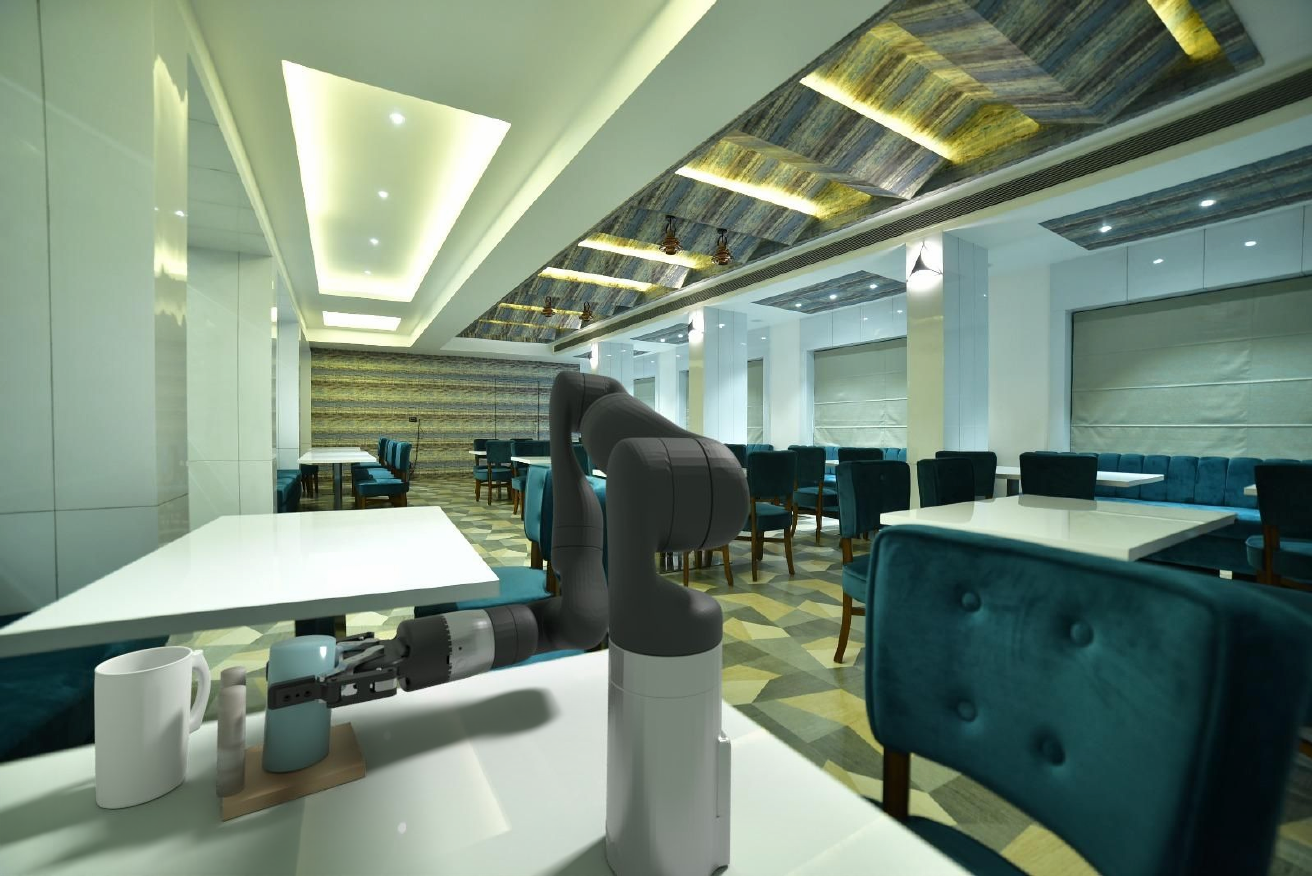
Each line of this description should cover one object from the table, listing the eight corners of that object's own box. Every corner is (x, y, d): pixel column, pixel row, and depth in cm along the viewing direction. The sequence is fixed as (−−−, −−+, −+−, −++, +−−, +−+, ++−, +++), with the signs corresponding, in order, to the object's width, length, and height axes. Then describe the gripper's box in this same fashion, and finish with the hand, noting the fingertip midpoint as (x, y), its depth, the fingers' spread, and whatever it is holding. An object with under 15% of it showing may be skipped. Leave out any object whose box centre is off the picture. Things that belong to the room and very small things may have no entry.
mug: (137, 815, 48) (140, 676, 48) (69, 808, 49) (72, 672, 49) (237, 751, 58) (239, 636, 58) (179, 746, 59) (181, 633, 59)
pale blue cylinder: (335, 740, 58) (342, 633, 59) (319, 768, 53) (327, 650, 54) (274, 746, 57) (281, 636, 57) (251, 775, 51) (260, 654, 52)
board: (350, 732, 62) (351, 641, 62) (365, 776, 54) (367, 671, 54) (219, 767, 55) (221, 664, 55) (214, 823, 47) (216, 703, 47)
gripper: (429, 600, 69) (265, 625, 59) (465, 632, 58) (269, 670, 48) (428, 660, 69) (264, 695, 59) (464, 705, 57) (267, 758, 48)
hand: (267, 684), depth 53 cm, fingers open, 6 cm apart
